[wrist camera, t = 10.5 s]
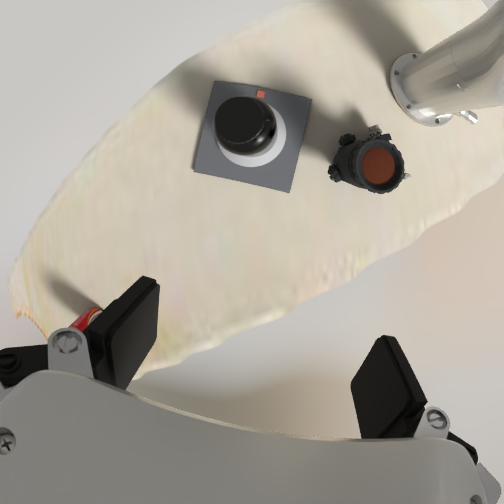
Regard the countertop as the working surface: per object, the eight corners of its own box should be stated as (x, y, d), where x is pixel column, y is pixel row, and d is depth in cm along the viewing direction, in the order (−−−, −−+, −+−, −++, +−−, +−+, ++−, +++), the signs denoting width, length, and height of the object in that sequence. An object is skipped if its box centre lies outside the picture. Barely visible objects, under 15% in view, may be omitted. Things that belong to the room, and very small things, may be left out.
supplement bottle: (284, 117, 33) (286, 98, 22) (268, 163, 35) (263, 164, 24) (236, 103, 33) (216, 79, 22) (220, 148, 35) (194, 144, 24)
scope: (440, 185, 22) (361, 221, 25) (392, 175, 35) (334, 200, 38) (413, 110, 20) (328, 141, 23) (371, 124, 33) (311, 148, 36)
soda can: (115, 337, 51) (87, 371, 40) (90, 327, 51) (61, 358, 40) (113, 310, 49) (80, 344, 37) (86, 301, 49) (53, 330, 37)
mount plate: (311, 100, 33) (312, 98, 32) (289, 192, 38) (289, 193, 36) (215, 82, 33) (213, 79, 32) (195, 171, 38) (191, 172, 37)
